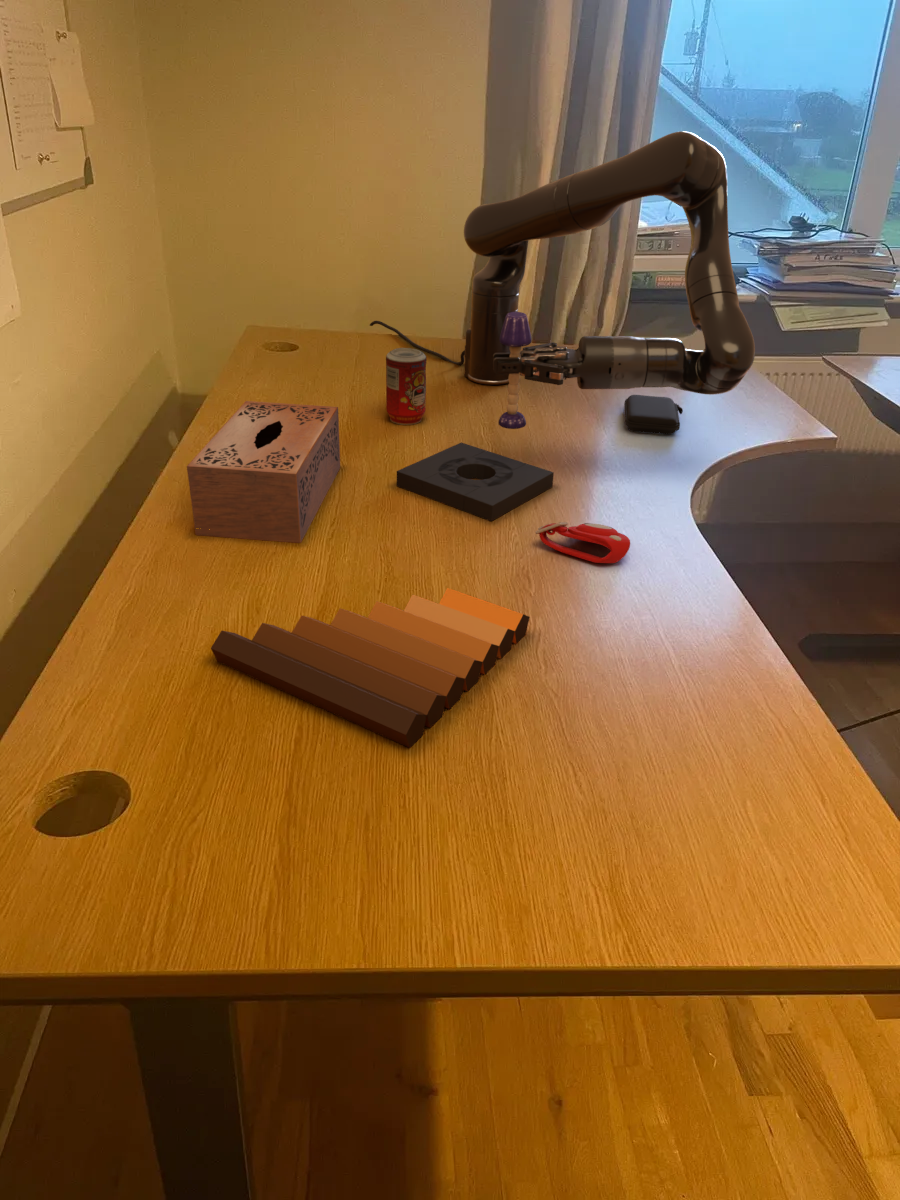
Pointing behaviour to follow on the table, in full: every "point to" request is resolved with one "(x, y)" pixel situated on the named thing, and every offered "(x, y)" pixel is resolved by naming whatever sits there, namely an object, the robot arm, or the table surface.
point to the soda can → (405, 385)
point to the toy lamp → (515, 337)
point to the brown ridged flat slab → (381, 659)
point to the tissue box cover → (265, 472)
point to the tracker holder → (588, 540)
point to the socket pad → (485, 498)
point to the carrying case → (651, 414)
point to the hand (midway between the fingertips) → (493, 363)
